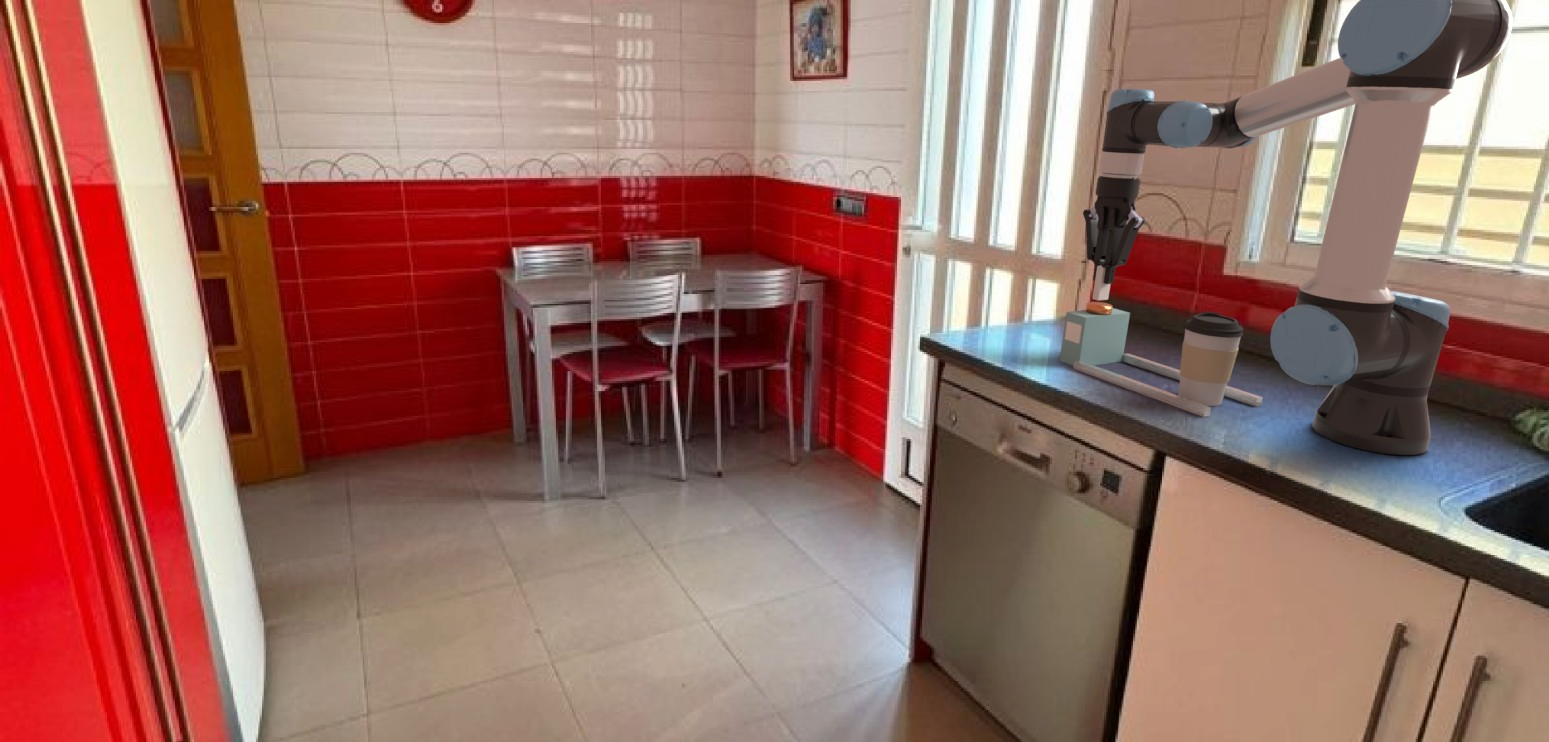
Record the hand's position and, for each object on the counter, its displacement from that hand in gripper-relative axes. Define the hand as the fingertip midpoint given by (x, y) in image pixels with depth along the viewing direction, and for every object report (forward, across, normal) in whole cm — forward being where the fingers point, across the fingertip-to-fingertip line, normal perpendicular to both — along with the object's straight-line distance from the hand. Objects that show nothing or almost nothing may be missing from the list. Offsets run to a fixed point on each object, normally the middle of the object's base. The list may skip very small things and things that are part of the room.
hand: (1100, 299), depth 164 cm
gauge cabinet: (+13, 0, 0) cm, 13 cm away
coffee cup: (+13, -25, 0) cm, 28 cm away
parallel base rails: (+13, -17, 0) cm, 21 cm away
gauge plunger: (+8, 0, 0) cm, 8 cm away
